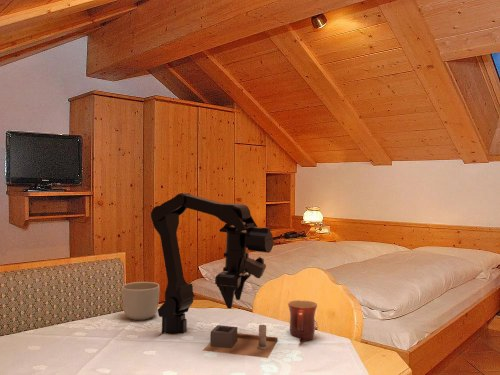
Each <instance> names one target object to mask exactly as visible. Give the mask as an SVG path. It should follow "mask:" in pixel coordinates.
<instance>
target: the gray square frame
mask: <svg viewBox="0 0 500 375" xmlns="http://www.w3.org/2000/svg"><path fill="white" fill-rule="evenodd" d="M237 333H238V326H231V325H230V326H229V325H220V324H217V325H216V326H215V327H213V328H212V330H210V333H209V334H210V341H209V343H210V346H213V347H222V348H232V347H233V346H234V344H235V343H236V342H237Z"/></svg>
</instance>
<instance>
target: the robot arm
mask: <svg viewBox="0 0 500 375" xmlns="http://www.w3.org/2000/svg"><path fill="white" fill-rule="evenodd" d="M187 209H190V210H193V211H196V212H199V213H204V214H207V215H211V216H213V217H216V218H218V219H219V220H220V221H221V222H223V223H224V225H223V226H222V227H221V228H219V232H220V233H226V237H225V238H226V239H225V252H223V257H225V263H224V264H225V265H224V267H223V268H222V269H223V270H222V271H221V272H220V273H218V274H217V275H216V276H215V277H214V284H215V285H216V287H218V290H219V292H220V294H221V296H222V298H223V301H224V303H225V306H226V308H227V309H232V307H233V304H234V300H236V301H240V300H241V297H242V293H243V290H244V287H245V284H246V281H247V280H249V278H250V277H251V276H253V277H254V278H256V279H260V278H261V277H262V276H263V275H264V272H265V270H266V267H267V265H266V263H265V260H264V258H263V257H261V256H259V257H257V258H256V259H254V258H252V257H251V258H250V257H249V254H250V253H249V251H250V252H256V253H257V252H258V253H267V254H270V253H271V251H272V250H273V247H274V238H273V233H272V232H271V231H272V230H271V229H272V228H271V227H258V225H257V223H256V222H255V220H254V218H253V216H252V214H251V209H250V208H249V206H248V205H246V204H244V203H222V202H219V201H215V200H212V199H208V198H205V197H201V196H198V195H197V196H196V195H193V194H191V193H189V192H186V193H185V192H181V193H178V194H177V195H175V196H173V198H171V199H169V200H167V201H165V202H163V203H162V204H160V205H156V206H154V207H153V209H152V211H150V218H151V222H152V225H153V228H154V229H155V231H156V233H158V235H159V237H160V242H161V248H162V255H163V262H164V268H165V273H166V278H167V279H166V280H167V285H166V287H165V292H164V302H163V303H162V304H161V306H160V307H158V308H157V313H158V316H159V317H160V318H161V333H160V334H159V336H161V335H163V334H168V335H176V334H185V333H186V332H187V323H188V321H187V318H186V313H188V312H189V310H190V307H191V306H192V304H193V303H194V297H195V294H194V289H193V283H188V282H187V281H186V279H185V277H184V270H183V266H182V265H183V264H182V260H181V254H180V247H179V241H178V236H177V232H178V228H179V225H180V224H179V223H180V216H181V215H183V214H184V213H185V211H187ZM247 250H248V251H247ZM234 298H235V299H234Z"/></svg>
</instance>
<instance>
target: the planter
mask: <svg viewBox="0 0 500 375" xmlns="http://www.w3.org/2000/svg"><path fill="white" fill-rule="evenodd" d="M121 296H122V309H123V313H124V315H125V316H126V317H127V318H128V319H130V320H132V321H143V320H144V321H145V320H149V319H151V318H153V317H154V316H155V315H156V314H157V313H158V309H159V302H160V300H159V298H160V284H159V283H157V282H154V281H153V282H152V281H136V282H129V283H125V284H123V285H121Z"/></svg>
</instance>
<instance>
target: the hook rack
mask: <svg viewBox="0 0 500 375" xmlns="http://www.w3.org/2000/svg"><path fill="white" fill-rule="evenodd" d="M278 341H279V340H278V337H277V336H276V337H275V336H268V335H267V325H265V324H259V325H258V335H257V334H256V335H255V334H250V333H249V334H248V333H246V334H245V333H239V332H237V342H236V343H235V344H234V346H233V347H232V348H222V347H213V346H210V342H209V343H208V344H207V345H206V346H205V347H204V348H203V349H202V351H203V352H214V353H220V354H221V353H222V354H232V355H239V356H246V357H247V356H250V357H258V358H266V359H268V358H269V357H270V355H271V353H272V351H273V350H274V349H275V346H276V345H277V343H278Z"/></svg>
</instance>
